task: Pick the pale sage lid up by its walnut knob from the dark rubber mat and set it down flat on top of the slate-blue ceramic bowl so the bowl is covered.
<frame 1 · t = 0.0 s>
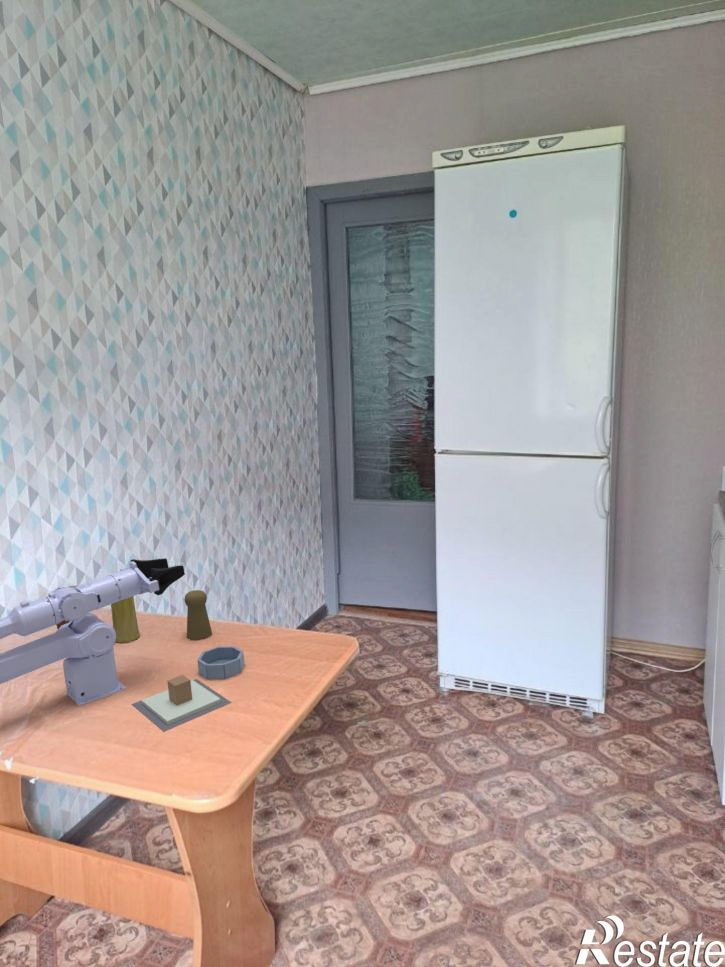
hand: (175, 566, 146), 22 cm above the table, tool horizontal, fingers open, 7 cm apart
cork: (199, 635, 164), on the table
disposable coffee cup: (74, 638, 166), on the table
mat: (181, 705, 131), on the table
lid: (181, 703, 131), resting on mat
bowl: (222, 670, 144), on the table
vase: (127, 638, 164), on the table
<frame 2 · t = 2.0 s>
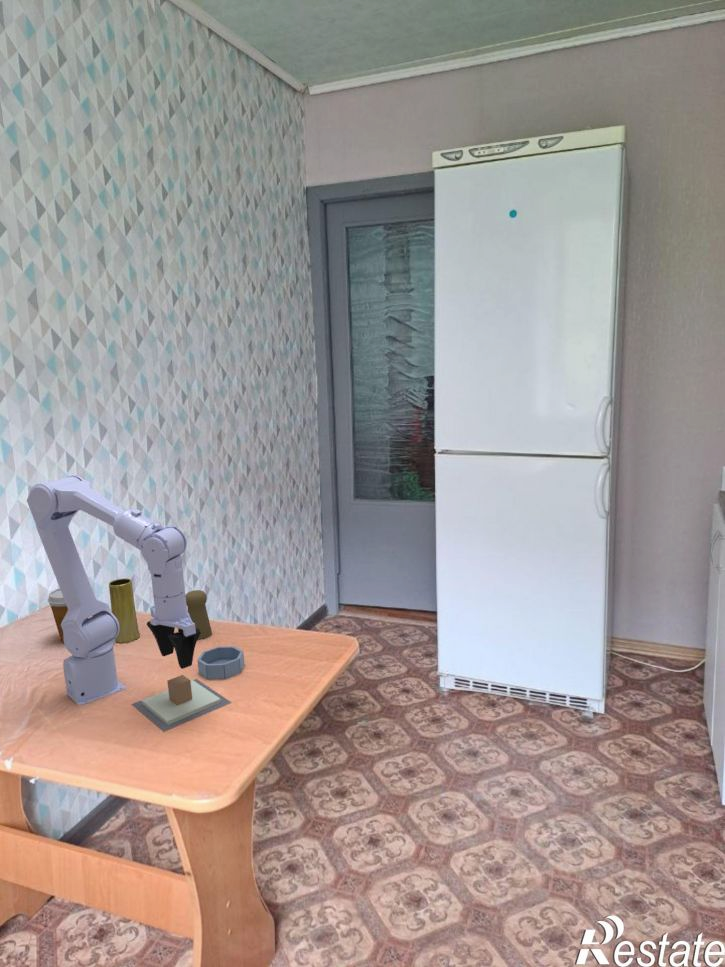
hand: (176, 660, 129), 9 cm above the table, tool pointing down, fingers open, 7 cm apart
nothing on the table moved.
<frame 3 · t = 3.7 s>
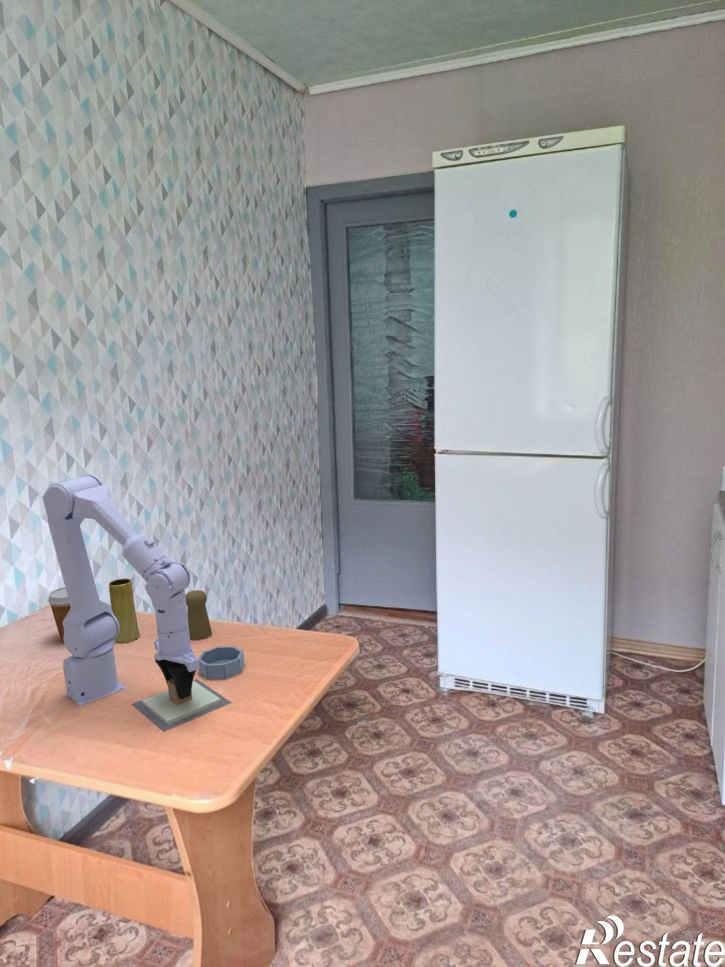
hand: (180, 693, 130), 2 cm above the table, tool pointing down, fingers closed on lid, 3 cm apart
lid: (181, 703, 131), resting on mat, touching gripper
everything else where it was.
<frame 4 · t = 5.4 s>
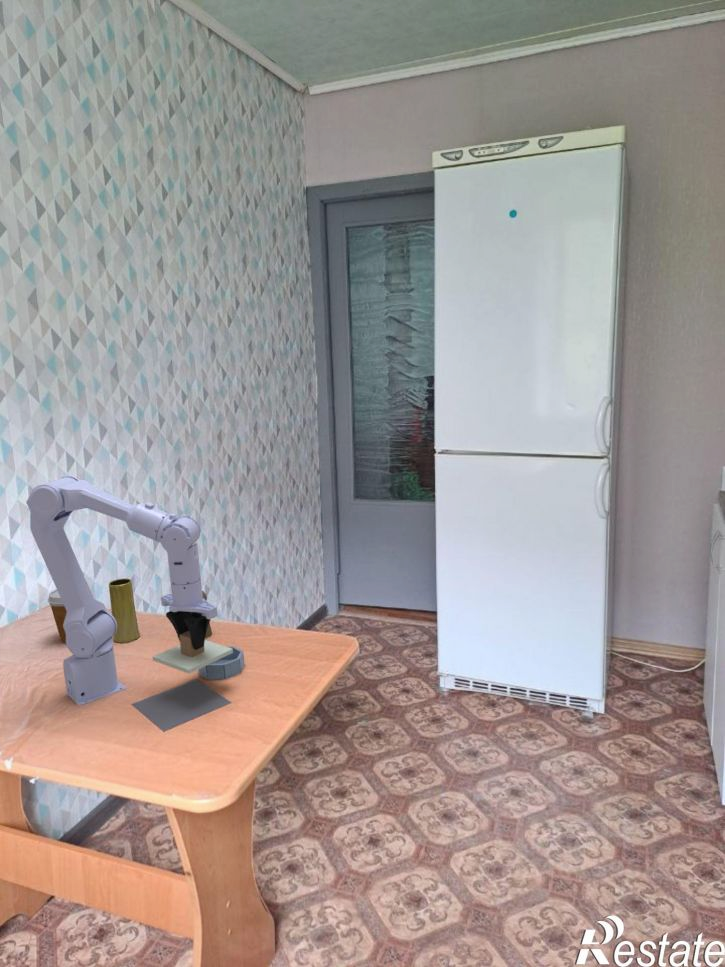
hand: (192, 645, 134), 10 cm above the table, tool pointing down, fingers closed on lid, 3 cm apart
lid: (193, 656, 134), point 8 cm above the table, touching gripper
everything else where it was.
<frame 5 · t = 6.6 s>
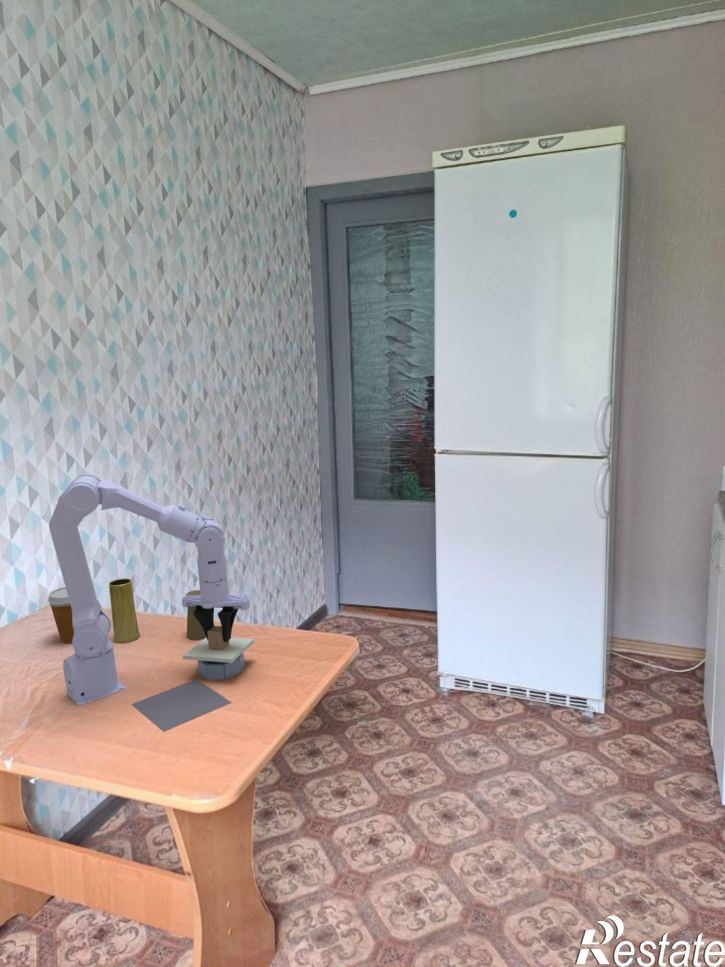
hand: (219, 639, 143), 7 cm above the table, tool pointing down, fingers closed on lid, 3 cm apart
lid: (219, 650, 143), point 5 cm above the table, touching gripper
everything else where it was.
when the fingers open (7 cm above the table, at t = 7.4 s): lid stays where it is, resting on bowl.
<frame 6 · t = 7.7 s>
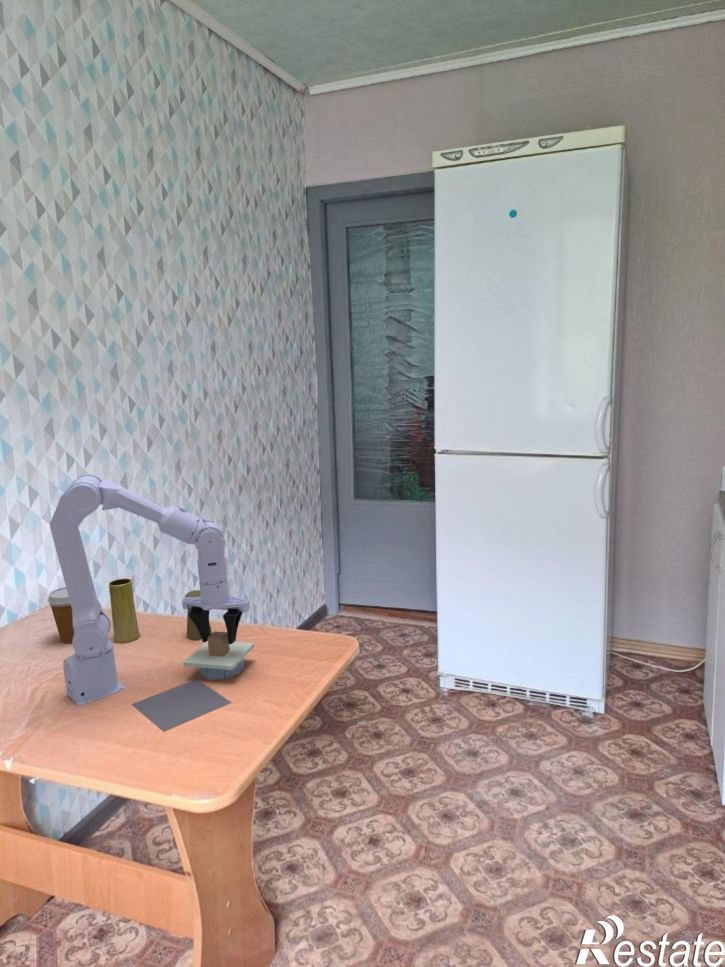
hand: (219, 641, 143), 7 cm above the table, tool pointing down, fingers open, 5 cm apart
lid: (219, 656, 143), point 3 cm above the table, touching bowl
bowl: (222, 670, 144), on the table, touching lid
everything else where it was.
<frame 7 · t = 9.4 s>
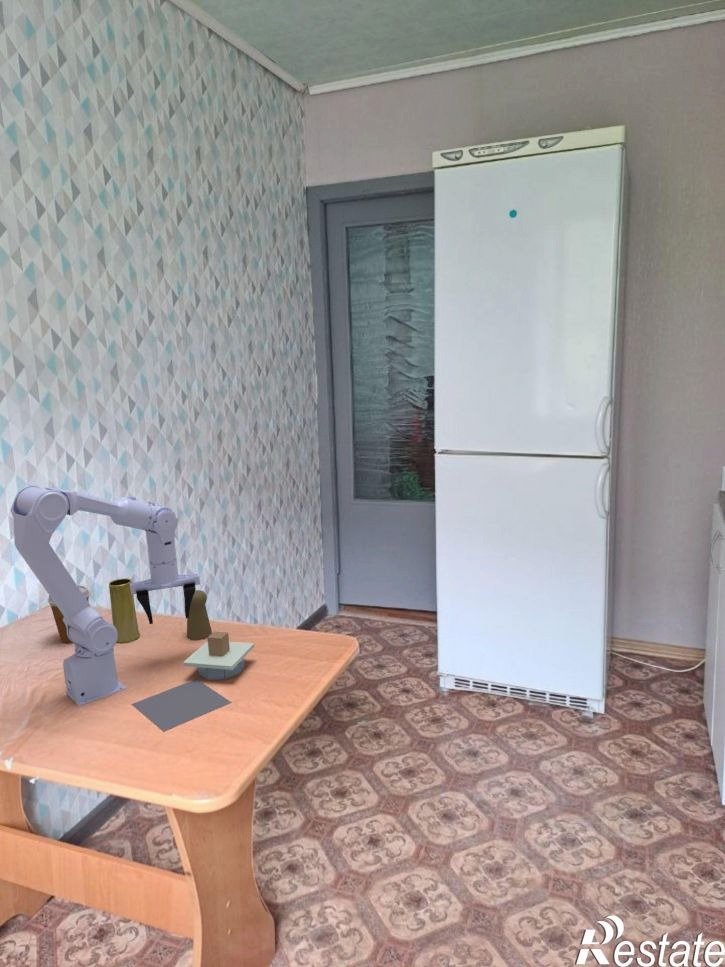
hand: (169, 619, 149), 9 cm above the table, tool pointing down, fingers open, 7 cm apart
nothing on the table moved.
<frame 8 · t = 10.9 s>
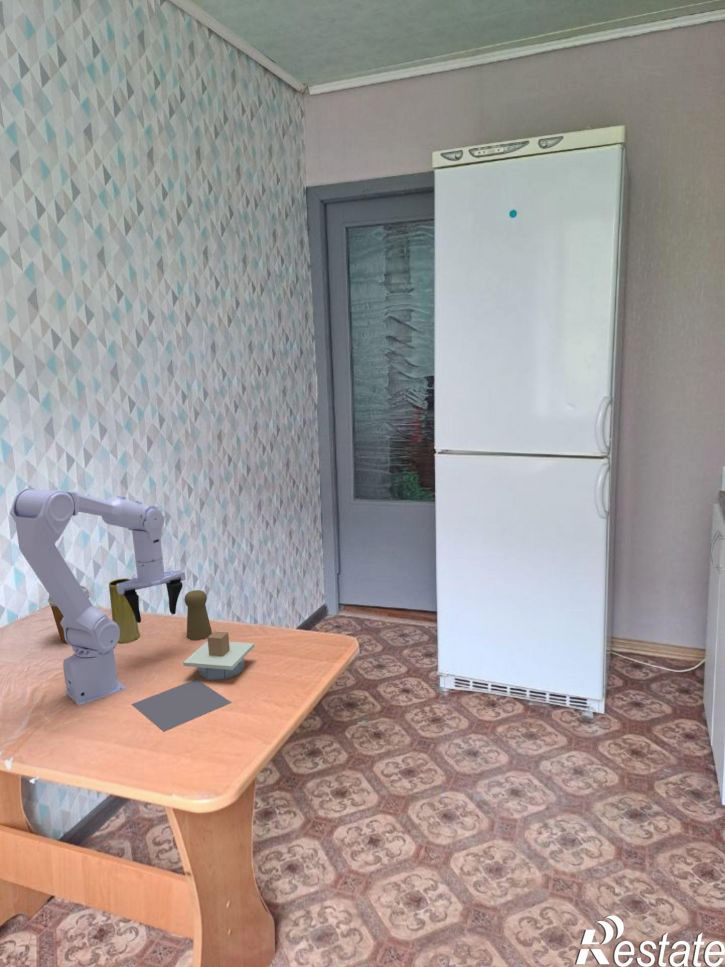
hand: (155, 617, 151), 9 cm above the table, tool pointing down, fingers open, 7 cm apart
nothing on the table moved.
at the end: lid 0.4 cm off-centre on the bowl, point 3.5 cm above the bowl's base; lid tilted 0°; lid touching bowl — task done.
